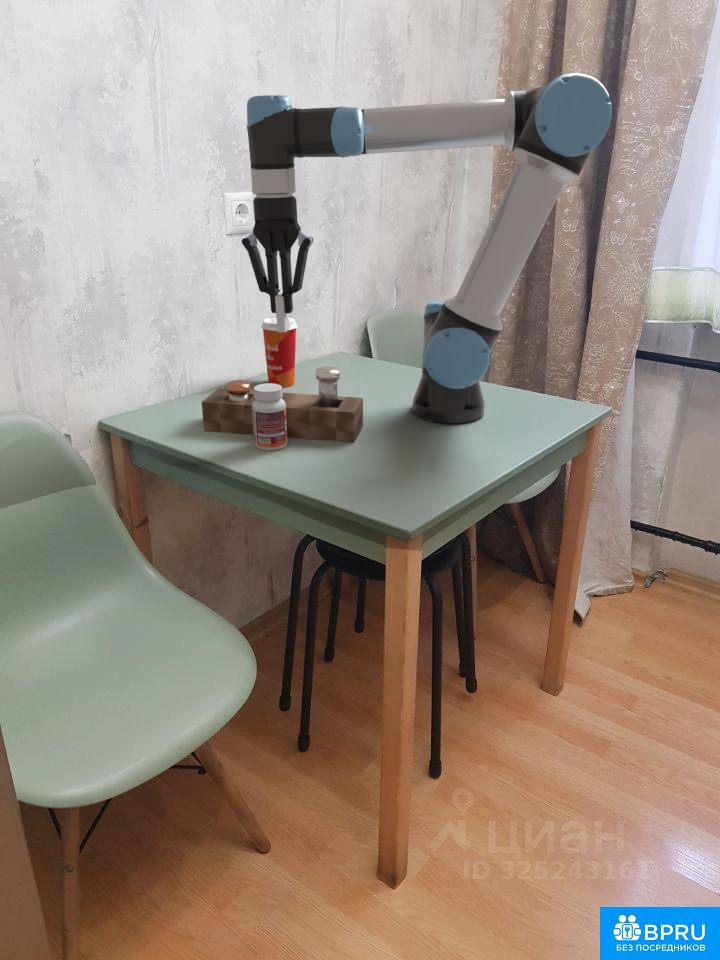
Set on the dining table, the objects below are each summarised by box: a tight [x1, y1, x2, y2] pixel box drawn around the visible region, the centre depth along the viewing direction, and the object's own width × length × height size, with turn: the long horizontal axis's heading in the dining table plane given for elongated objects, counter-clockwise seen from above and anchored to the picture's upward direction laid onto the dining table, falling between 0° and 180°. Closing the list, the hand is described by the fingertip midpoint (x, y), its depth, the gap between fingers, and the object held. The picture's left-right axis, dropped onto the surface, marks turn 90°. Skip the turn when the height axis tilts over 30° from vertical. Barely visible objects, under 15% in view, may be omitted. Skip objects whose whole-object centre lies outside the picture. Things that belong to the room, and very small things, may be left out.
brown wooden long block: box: [201, 387, 364, 444], centre depth 145 cm, size 30×9×6 cm, turn 79°
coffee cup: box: [260, 317, 298, 389], centre depth 170 cm, size 8×8×15 cm
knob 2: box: [315, 366, 341, 408], centre depth 141 cm, size 5×5×7 cm
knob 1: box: [225, 379, 252, 402], centre depth 145 cm, size 5×5×7 cm
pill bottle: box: [252, 382, 288, 451], centre depth 135 cm, size 6×6×11 cm
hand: (283, 330), depth 138 cm, fingers closed
